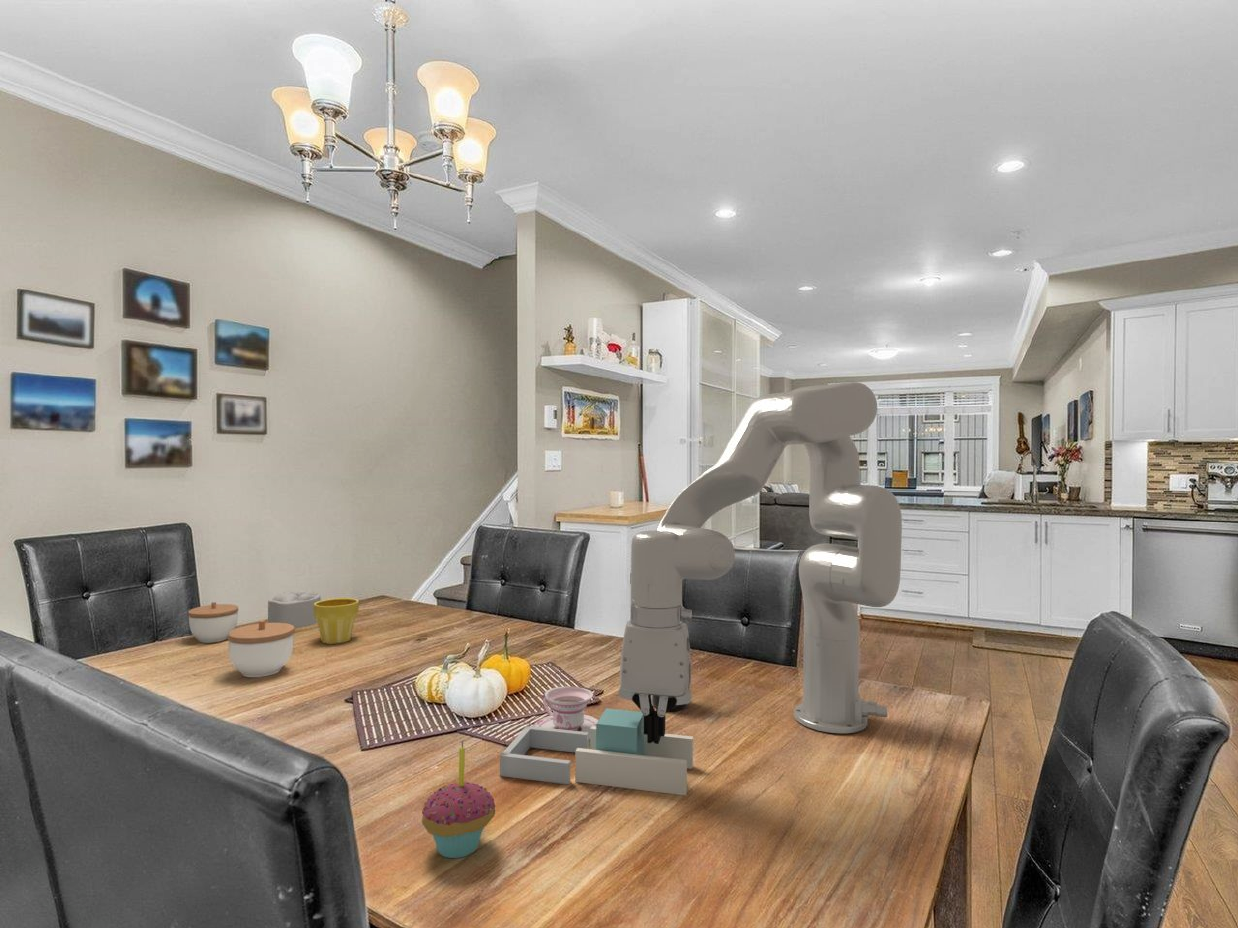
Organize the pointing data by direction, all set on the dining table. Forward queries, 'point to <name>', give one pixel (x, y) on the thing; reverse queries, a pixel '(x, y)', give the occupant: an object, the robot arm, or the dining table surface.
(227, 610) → the lidded jar
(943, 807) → the dining table surface
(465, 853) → the cupcake
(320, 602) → the plant pot
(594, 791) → the dining table surface
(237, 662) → the lidded bowl
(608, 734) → the block
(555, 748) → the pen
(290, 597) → the grey lumpy-topped box
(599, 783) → the channel
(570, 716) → the teacup
